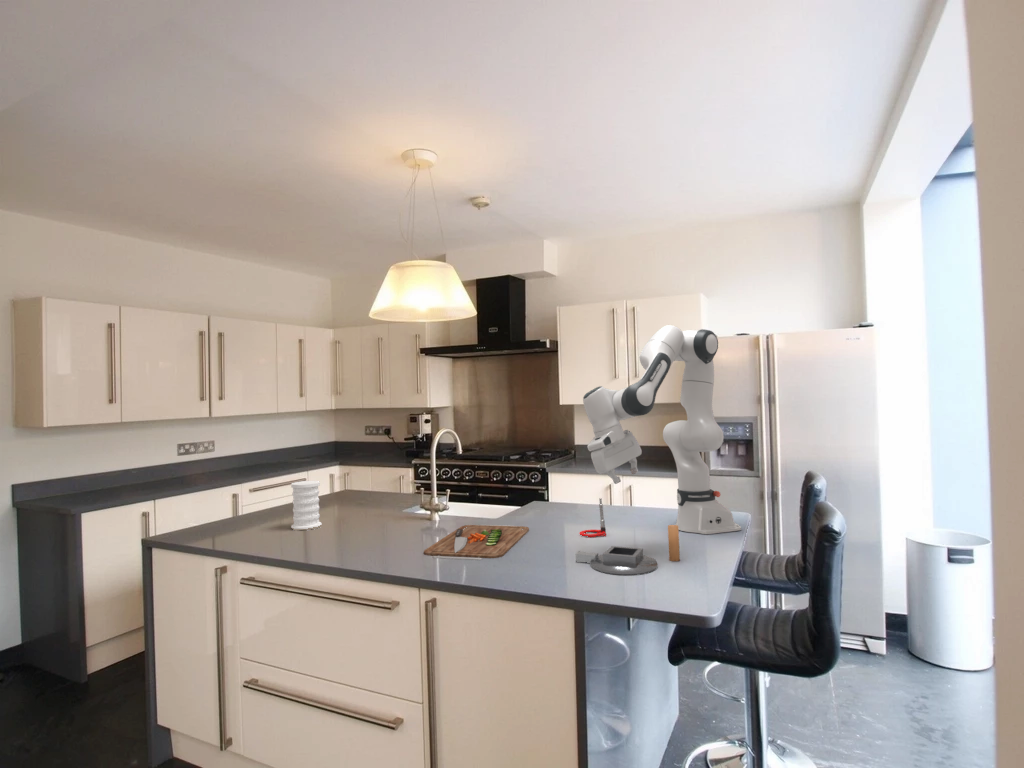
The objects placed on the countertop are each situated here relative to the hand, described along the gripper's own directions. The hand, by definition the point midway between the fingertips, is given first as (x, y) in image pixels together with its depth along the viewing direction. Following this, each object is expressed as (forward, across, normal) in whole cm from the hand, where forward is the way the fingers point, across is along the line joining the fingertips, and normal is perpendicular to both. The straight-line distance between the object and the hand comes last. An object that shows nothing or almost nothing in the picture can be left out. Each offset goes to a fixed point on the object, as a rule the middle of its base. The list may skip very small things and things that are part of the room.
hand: (626, 478), depth 183 cm
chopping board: (+5, +27, -50) cm, 57 cm away
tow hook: (+18, -4, -28) cm, 34 cm away
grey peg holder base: (+20, +19, 0) cm, 28 cm away
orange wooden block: (+26, +4, +9) cm, 28 cm away
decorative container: (-20, +58, -116) cm, 132 cm away
